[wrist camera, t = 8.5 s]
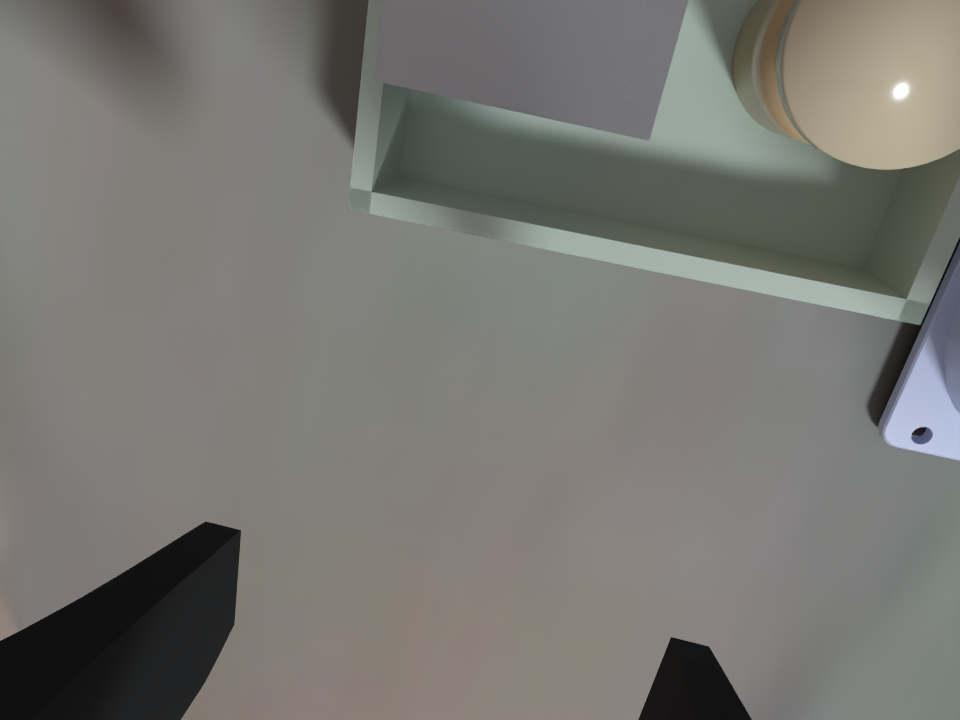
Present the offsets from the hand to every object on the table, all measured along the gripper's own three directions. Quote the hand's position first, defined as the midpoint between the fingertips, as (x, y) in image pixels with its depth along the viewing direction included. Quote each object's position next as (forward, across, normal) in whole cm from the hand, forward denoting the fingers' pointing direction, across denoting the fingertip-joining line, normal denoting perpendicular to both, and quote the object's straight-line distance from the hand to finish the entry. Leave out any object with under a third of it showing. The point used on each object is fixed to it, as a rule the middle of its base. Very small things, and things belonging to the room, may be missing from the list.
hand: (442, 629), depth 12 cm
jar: (+10, -5, -10) cm, 15 cm away
